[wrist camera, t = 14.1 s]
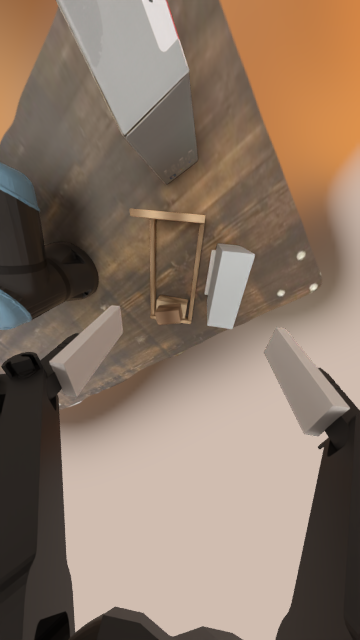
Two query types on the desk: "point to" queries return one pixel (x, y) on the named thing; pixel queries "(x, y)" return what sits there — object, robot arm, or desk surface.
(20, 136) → the desk surface
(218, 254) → the grey rectangular block
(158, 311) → the offcut upper
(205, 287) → the mat
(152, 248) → the rack
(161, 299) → the offcut lower
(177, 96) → the hard drive box
